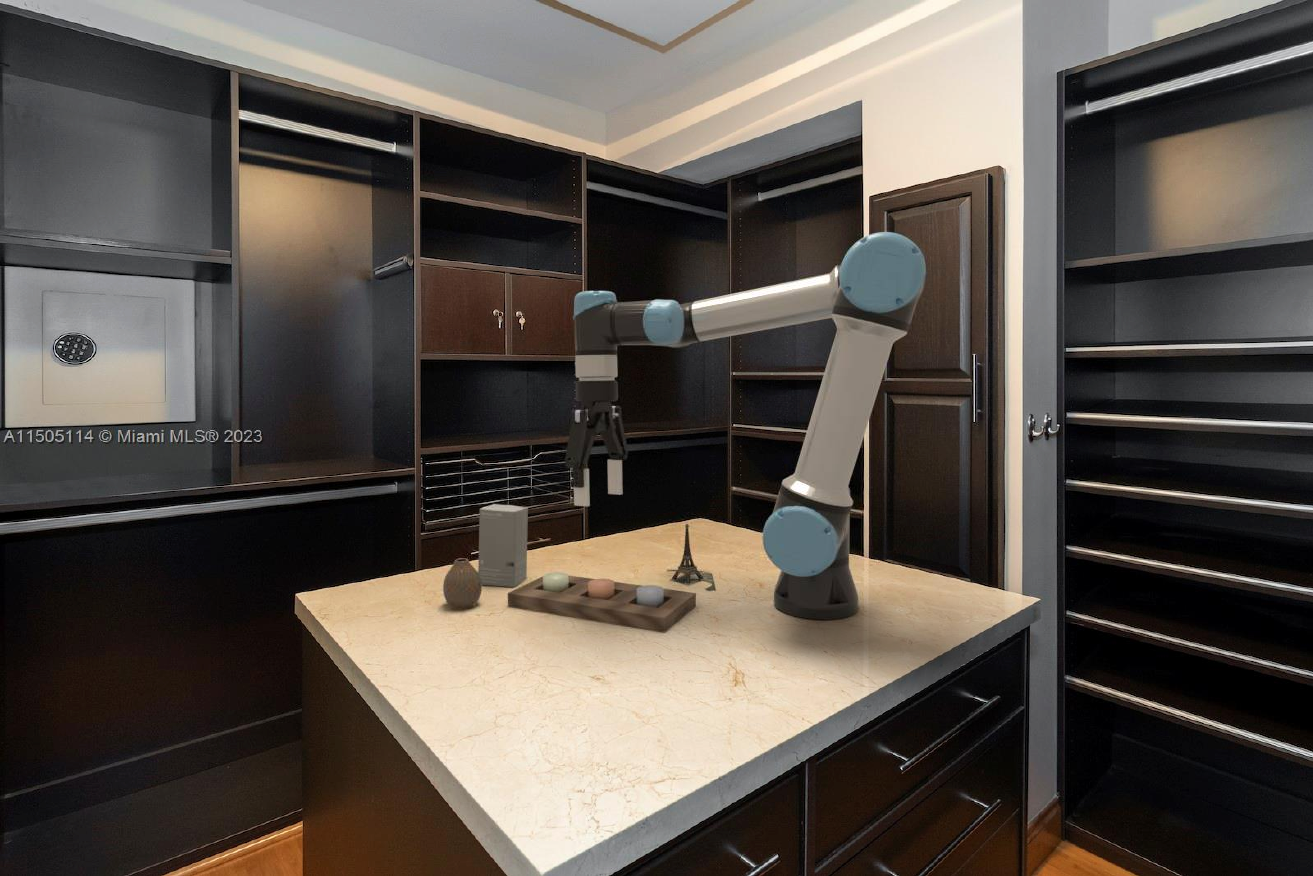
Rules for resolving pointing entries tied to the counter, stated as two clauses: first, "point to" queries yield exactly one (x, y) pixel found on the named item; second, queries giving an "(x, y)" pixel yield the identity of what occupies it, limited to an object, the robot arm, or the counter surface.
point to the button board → (604, 604)
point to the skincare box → (503, 545)
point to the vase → (462, 585)
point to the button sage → (555, 582)
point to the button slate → (650, 596)
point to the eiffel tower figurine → (691, 569)
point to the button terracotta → (601, 589)
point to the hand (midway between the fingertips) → (599, 499)
